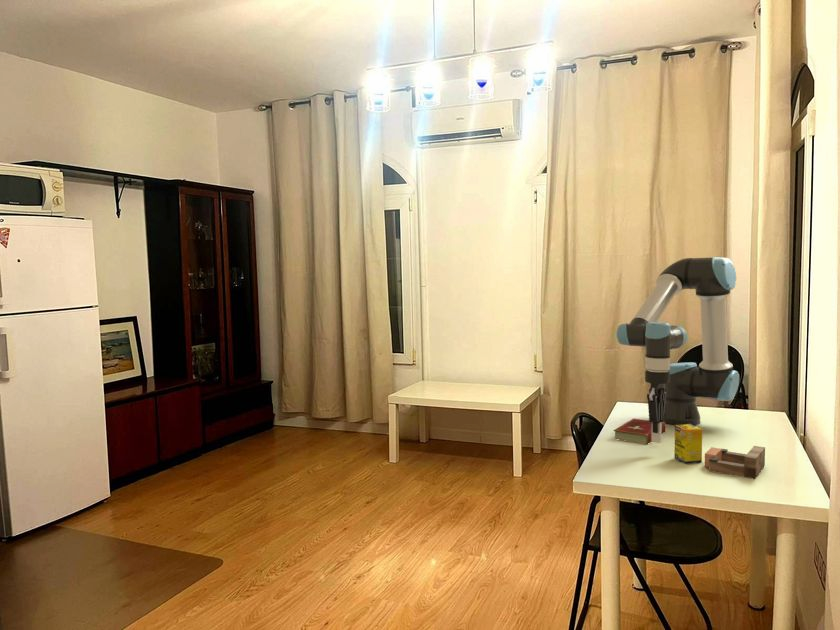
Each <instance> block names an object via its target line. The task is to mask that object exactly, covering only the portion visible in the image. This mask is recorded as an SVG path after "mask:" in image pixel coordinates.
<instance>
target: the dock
mask: <svg viewBox="0 0 840 630" xmlns="http://www.w3.org/2000/svg"><path fill="white" fill-rule="evenodd" d="M721 449H722V461H720V460H719V458H713V457H711V458H710V459H709V467H708V471H709V472H712V473H719V474H724V475H725V474H726V475H729V476H730V475H731V476H736V477H742V478H748V479H752V478H753V480H756V479H757V478H756V477H758V476H759V475H760V474H759V473H761V472H762V471H763V470H764V468H765V467H764V466H766V464H765V462H766V459H765V458H766V447H765V446H758V445H753V446H752V448H751V449H749V451H748V452H747V453H741V452H735V451H734V452H733V451H728V449H727V448H721ZM761 470H762V471H761Z"/></svg>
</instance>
